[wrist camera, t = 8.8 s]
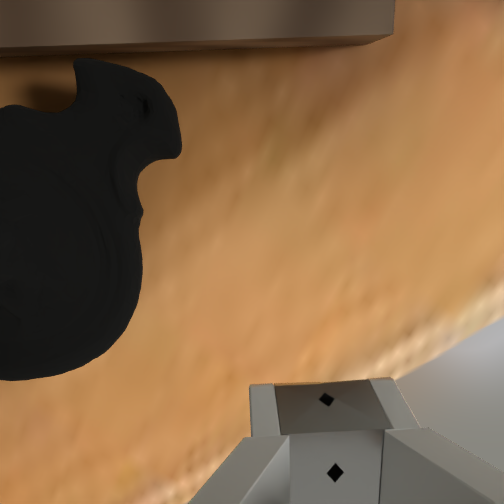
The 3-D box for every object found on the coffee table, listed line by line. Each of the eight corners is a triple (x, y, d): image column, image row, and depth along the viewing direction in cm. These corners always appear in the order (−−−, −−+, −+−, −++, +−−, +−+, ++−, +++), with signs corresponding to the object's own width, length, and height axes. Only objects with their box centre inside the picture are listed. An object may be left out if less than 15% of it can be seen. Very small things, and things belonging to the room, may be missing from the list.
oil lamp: (265, 192, 27) (273, 212, 23) (43, 390, 31) (10, 443, 26) (70, -23, 23) (31, -55, 19) (-160, 230, 27) (-243, 259, 22)
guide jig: (369, 2, 24) (404, -21, 20) (359, 270, 29) (385, 303, 24) (-299, 23, 23) (-436, 3, 18) (-196, 300, 28) (-283, 342, 23)
